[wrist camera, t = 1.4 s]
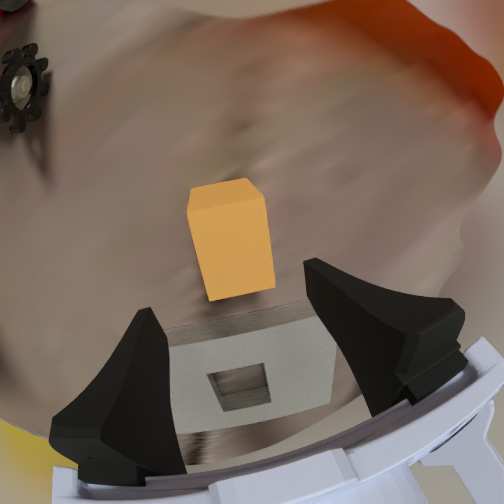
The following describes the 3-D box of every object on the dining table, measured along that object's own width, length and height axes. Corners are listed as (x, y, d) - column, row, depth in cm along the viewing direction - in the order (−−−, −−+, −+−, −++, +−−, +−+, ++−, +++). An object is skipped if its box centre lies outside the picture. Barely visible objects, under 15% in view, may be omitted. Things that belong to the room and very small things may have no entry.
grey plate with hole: (328, 293, 25) (339, 308, 23) (323, 388, 32) (329, 402, 30) (121, 335, 23) (117, 354, 21) (176, 418, 30) (176, 434, 28)
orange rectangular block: (246, 177, 19) (264, 197, 14) (256, 246, 22) (275, 287, 16) (191, 188, 19) (186, 212, 13) (206, 256, 21) (209, 301, 16)
